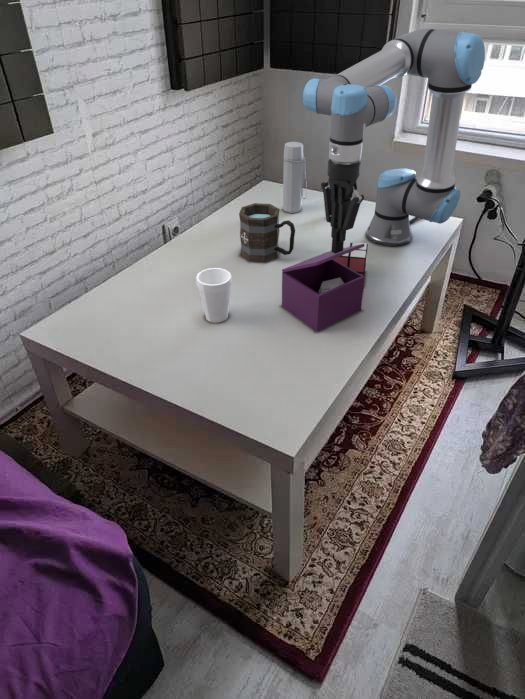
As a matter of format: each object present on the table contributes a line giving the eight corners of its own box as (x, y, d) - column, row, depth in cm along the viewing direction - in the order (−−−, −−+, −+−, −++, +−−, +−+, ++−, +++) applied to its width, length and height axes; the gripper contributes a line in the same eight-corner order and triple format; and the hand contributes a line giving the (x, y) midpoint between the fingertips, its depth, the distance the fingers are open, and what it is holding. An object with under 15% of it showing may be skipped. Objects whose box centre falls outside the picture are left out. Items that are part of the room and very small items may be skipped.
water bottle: (281, 213, 206) (282, 147, 191) (284, 205, 212) (285, 140, 197) (305, 215, 205) (307, 148, 190) (307, 206, 211) (310, 141, 196)
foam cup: (238, 310, 155) (236, 270, 147) (226, 328, 148) (223, 288, 140) (208, 304, 157) (204, 265, 149) (194, 322, 150) (190, 282, 142)
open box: (360, 310, 154) (365, 276, 147) (316, 331, 146) (319, 296, 139) (324, 288, 164) (326, 254, 157) (281, 306, 156) (282, 272, 149)
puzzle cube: (362, 287, 163) (366, 258, 157) (330, 284, 165) (332, 255, 159) (364, 271, 171) (368, 242, 165) (333, 268, 173) (335, 240, 167)
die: (314, 286, 157) (321, 271, 148) (344, 288, 158) (353, 273, 149) (314, 313, 155) (322, 300, 145) (345, 315, 156) (354, 302, 146)
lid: (364, 246, 142) (363, 243, 142) (317, 265, 135) (316, 262, 134) (327, 254, 156) (326, 252, 156) (282, 272, 149) (281, 269, 149)
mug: (232, 256, 180) (230, 214, 171) (253, 240, 189) (252, 199, 180) (283, 271, 172) (284, 228, 163) (303, 253, 181) (304, 211, 172)
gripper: (313, 155, 127) (309, 245, 142) (352, 171, 119) (343, 265, 133) (337, 149, 130) (331, 238, 145) (376, 163, 122) (365, 256, 137)
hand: (337, 251), depth 139 cm, fingers closed
